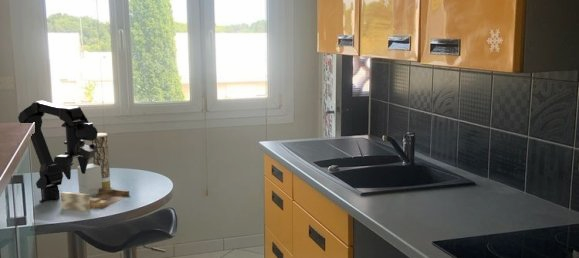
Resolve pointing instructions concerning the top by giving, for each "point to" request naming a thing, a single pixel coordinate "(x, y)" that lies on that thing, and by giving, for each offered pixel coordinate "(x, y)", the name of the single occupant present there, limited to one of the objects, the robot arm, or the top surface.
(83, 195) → the birch panel
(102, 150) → the log
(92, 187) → the supplement box
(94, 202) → the offcut stack
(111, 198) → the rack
